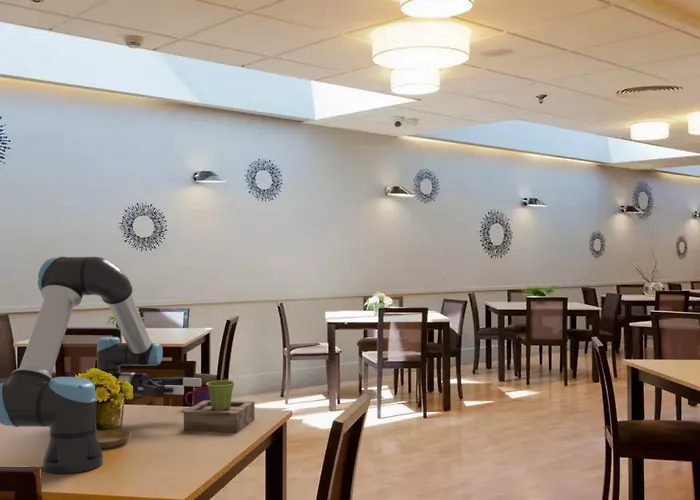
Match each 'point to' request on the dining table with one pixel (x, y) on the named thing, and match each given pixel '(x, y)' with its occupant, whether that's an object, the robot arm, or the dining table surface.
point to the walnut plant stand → (219, 417)
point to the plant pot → (220, 394)
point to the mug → (199, 395)
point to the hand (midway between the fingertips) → (192, 386)
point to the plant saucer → (112, 438)
